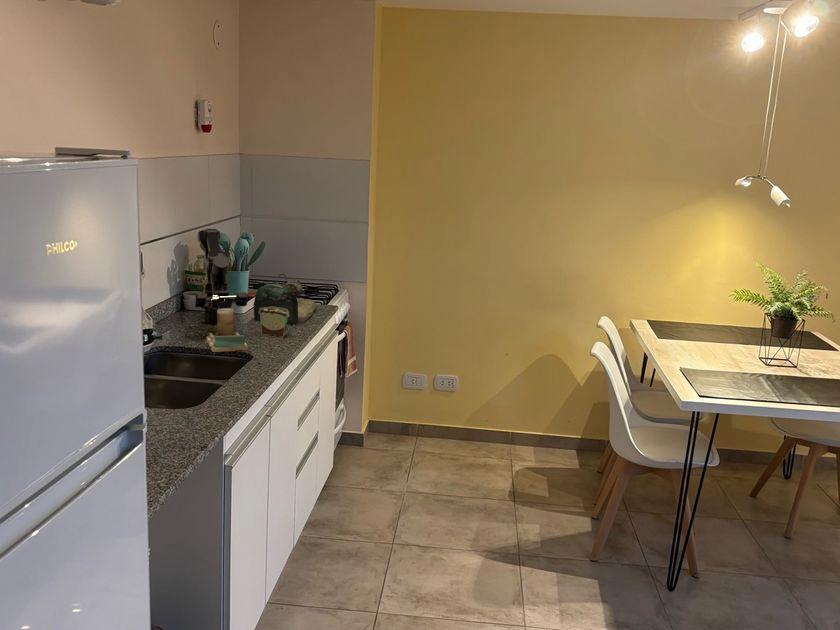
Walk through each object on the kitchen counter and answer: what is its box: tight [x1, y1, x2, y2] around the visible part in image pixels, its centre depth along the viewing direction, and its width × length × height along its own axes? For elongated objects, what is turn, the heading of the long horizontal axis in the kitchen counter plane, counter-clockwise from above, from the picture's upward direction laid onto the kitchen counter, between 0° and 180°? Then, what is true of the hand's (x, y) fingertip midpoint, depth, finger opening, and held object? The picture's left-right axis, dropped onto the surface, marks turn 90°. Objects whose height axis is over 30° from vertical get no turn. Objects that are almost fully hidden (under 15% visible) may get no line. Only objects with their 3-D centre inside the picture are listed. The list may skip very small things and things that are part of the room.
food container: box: [258, 306, 289, 338], centre depth 292 cm, size 12×6×10 cm, turn 71°
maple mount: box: [206, 331, 249, 353], centre depth 274 cm, size 16×12×5 cm
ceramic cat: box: [252, 273, 304, 325], centre depth 311 cm, size 20×6×20 cm, turn 76°
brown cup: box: [215, 308, 235, 336], centre depth 275 cm, size 6×6×10 cm
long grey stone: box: [297, 297, 317, 323], centre depth 331 cm, size 35×5×10 cm
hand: (223, 319), depth 279 cm, fingers closed
